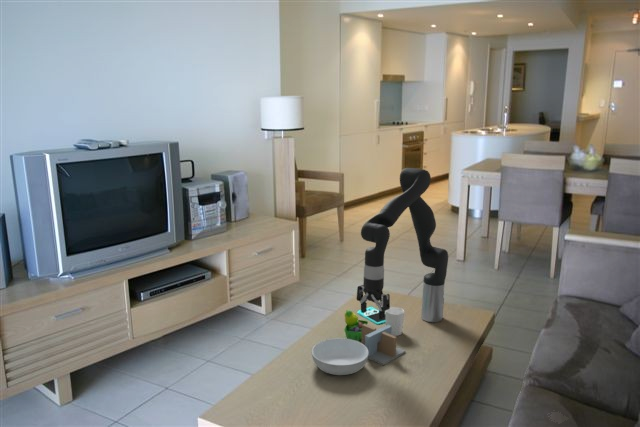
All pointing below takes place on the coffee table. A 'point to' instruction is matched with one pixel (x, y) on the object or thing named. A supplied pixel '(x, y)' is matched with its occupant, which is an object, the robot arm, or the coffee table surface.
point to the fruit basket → (353, 326)
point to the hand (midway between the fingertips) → (372, 315)
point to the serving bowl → (340, 356)
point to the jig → (382, 346)
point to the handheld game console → (372, 315)
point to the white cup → (395, 320)
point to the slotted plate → (376, 338)
